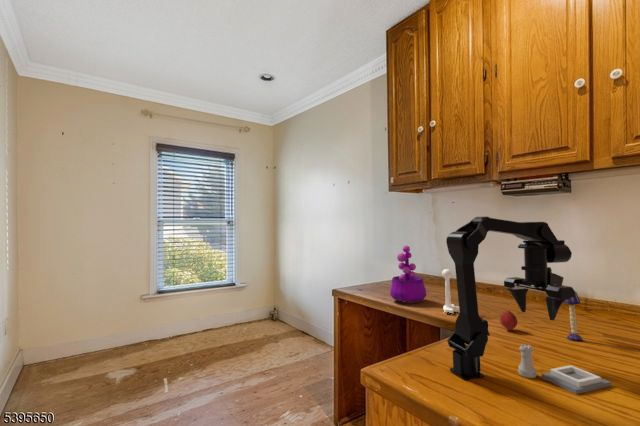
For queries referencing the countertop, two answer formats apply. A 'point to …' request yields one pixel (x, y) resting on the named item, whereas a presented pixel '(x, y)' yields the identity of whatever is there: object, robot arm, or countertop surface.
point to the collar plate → (575, 379)
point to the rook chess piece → (526, 362)
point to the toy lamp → (573, 318)
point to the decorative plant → (407, 281)
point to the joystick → (448, 292)
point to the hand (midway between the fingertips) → (537, 315)
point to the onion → (508, 320)
